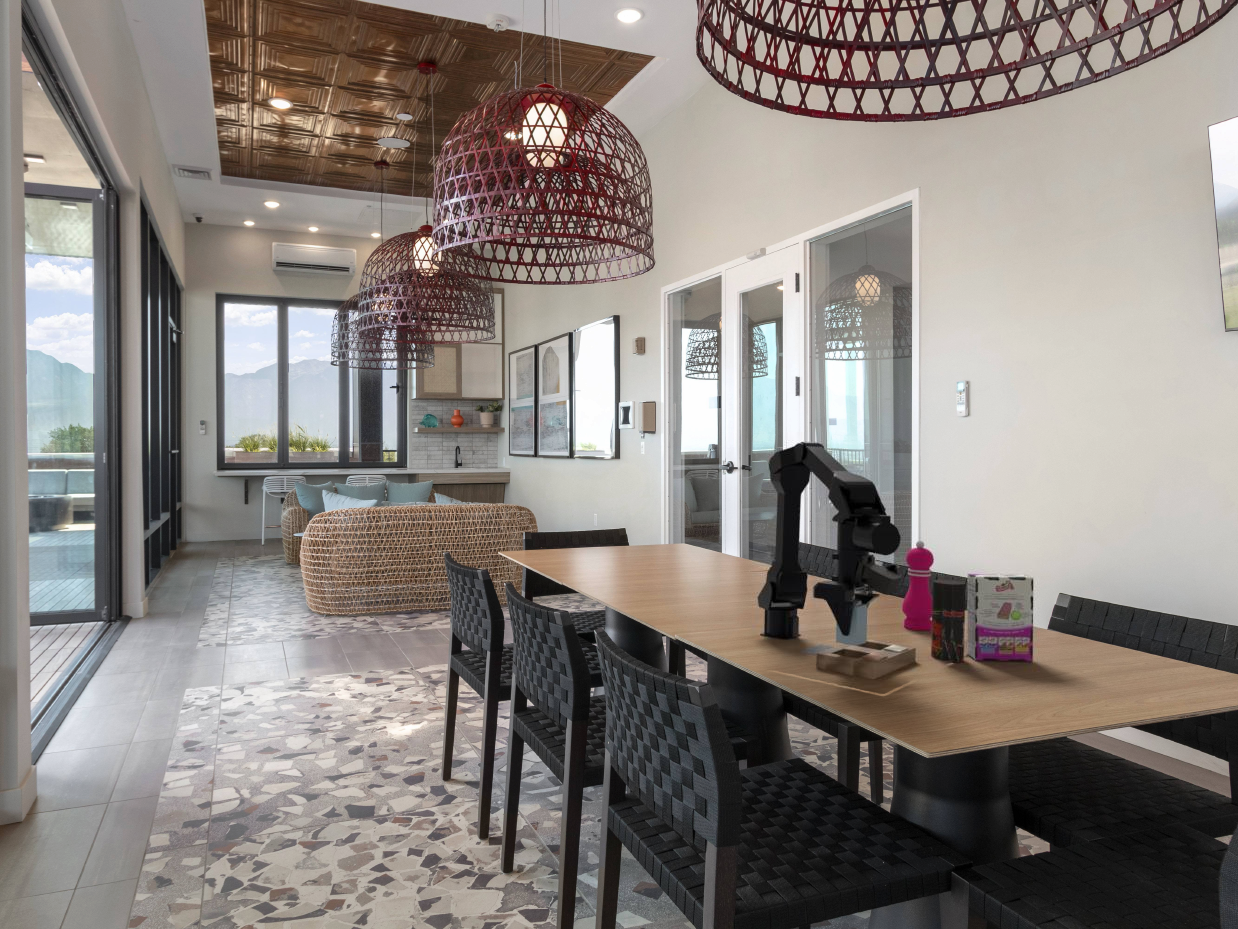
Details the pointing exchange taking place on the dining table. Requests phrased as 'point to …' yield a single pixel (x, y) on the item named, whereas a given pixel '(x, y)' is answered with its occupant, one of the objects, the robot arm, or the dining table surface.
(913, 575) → the pepper mill
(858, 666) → the socket block
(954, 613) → the deodorant
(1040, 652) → the dining table surface
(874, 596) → the robot arm
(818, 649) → the pad
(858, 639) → the plug
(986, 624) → the candy bar box
